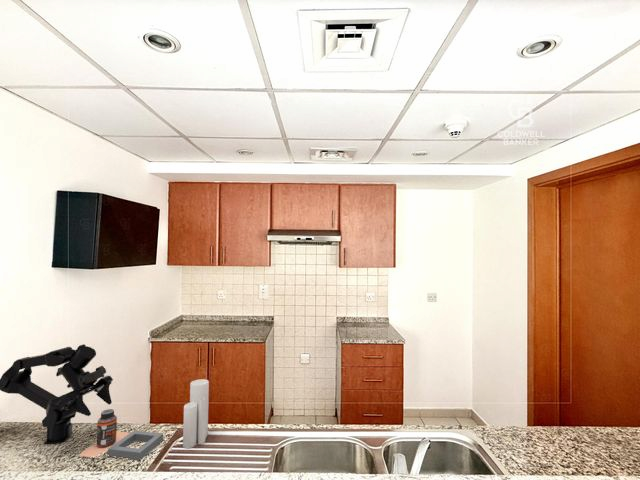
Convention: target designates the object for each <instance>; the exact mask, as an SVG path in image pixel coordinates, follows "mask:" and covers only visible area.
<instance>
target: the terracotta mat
mask: <svg viewBox="0 0 640 480" xmlns="http://www.w3.org/2000/svg"><path fill="white" fill-rule="evenodd" d="M130 433H131V432H127V431H125V432H123V431H118V430H116V441H115V442H114V443H113V444H112V445H110V446H107V447H98V446H97V442H96V443H94V444H93V445H91V446H90V447H88V448H87V449H85V450H84V451H82V452H81V453H80V454H78V455H77V457H78V456H85V457H93V456H94V457H95V458H96V456H97V457H98V455H99V454H100V453H102V452H105V453H106V452H107V451H108V449H109V448H110V447H111V446H113V445H114V444H116V443H117V442H118V441H120V440H121V439H123V438H124V437H125V436H127V435H128V434H130ZM106 454H107V453H106Z"/></svg>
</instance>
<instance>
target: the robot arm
mask: <svg viewBox="0 0 640 480" xmlns="http://www.w3.org/2000/svg"><path fill="white" fill-rule="evenodd" d="M96 355H97V351H96V350H95V348H93V347H92V346H88V345H87V346H86V344H80V345H78V346H77V347H76V349H73V348H72V347H71V346H65V347H63V348H58V349H55V350H52V351H49V352H47V353H43V354H40V355H35V356H34V355H33V356H27V357H21V358H18V359H16V360H14V362H13V363H12V364H11V366H10V367H9V368H8V369H7V370H6V371H4V373H3V374H2V375H1V377H0V391H1V392H3V393H6V394H14V395H15V394H16V395H17V394H18V395H20V396H22V397H23V398H25V399H27V400H29V401H30V402H32V403H34V404H35V405H38V407H40V408H42V409H44V410H45V414H46V415H45V417H44V418H43V419H42V420H41V423H42V427H44V428H46V429H47V430H46V440H45V441H44V442H43V444H44V445H50V444H57V443H64V442H66V441H67V440H68V438H69V437H70V436H72V434H73V423H71V422H72V419H74V418H75V417H76V414H77V413H78V414H82V415H84V416H87V417H90V416H91V415H92V413H91V411H90V408H88V406H87V405H86V403H85V402H84V396H85V395H87V394H89V393H91V392H95V394H96V396H97V397H98V398H100V399H101V400H102V401H103V402H105V403H106V404H107V405H111V404H112V398H111V397H112V396H111V394H110V386H111V385H112V382H113V381H114V379H113V377H112V376H111V375H105V374H106V373H107V369H106V368H105V367H104V366H103V365H100V366H98V367H96V368H95V371H92V372H90V371H89V370H87V371H85V370H84V368H86V367H87V366H88V365H89V364H90V362H91V361H93V359H94V358H95V357H96ZM60 365H62V366H61V367H58V366H60ZM39 366H40V367H41V366H47V367H58V368H57V372H56V374H55V375H56V377H59V376H61V375H62V377H63V378H64V379H65V381H66V382H67V383H68V384H67V385H66V387H67V388H68V389H70V388H71V389H72V390H71V391H69V392H67V393H65V394H62V395H60V396H56V395H55V394H53V393H51V392H50V391H48V390H46V389H44V388H43V387H41V386H40V385H38V384H36V383H34V382H33V381H32V379H31V378H32V377H31V375H32V374H33V371H32V368H34V367H35V368H36V367H39Z"/></svg>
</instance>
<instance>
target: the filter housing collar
mask: <svg viewBox="0 0 640 480" xmlns="http://www.w3.org/2000/svg"><path fill="white" fill-rule="evenodd" d="M129 433H130V434H128V435H127V436H125V437H124V438H123V439H121V440H120V441H118V442H117V443H116V444H114V445H113V446H111V447H110V448H109V449H108V453H107V456H108V455H109V456H116V457H123V458H122V459H124V458H128V459H127V460H132V459H133V461H141V460H142V459H143V458H144V457H146V456H147V455H148V454H149V453H150V452H151V451H153V450H155V448H156V447H157V446H159V444H161V443H162V442H163V441H164V433H162V432H161V433H160V432H153V431H141V430H132V431H131V432H129ZM133 441H134V442H145V443H144V444H142V446H141V447H139V448H136V447H130V445H131V444H132V443H133ZM130 443H131V444H130ZM129 444H130V445H129ZM126 446H127V447H126ZM128 446H129V447H128ZM116 457H115V458H116Z"/></svg>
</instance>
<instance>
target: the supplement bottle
mask: <svg viewBox="0 0 640 480" xmlns="http://www.w3.org/2000/svg"><path fill="white" fill-rule="evenodd" d="M117 419H118V416H117V415H115V409H112V408H111V409H110V408H108V409H105V410H102V411H101V413H100V418H98V419H97V422H96V423H97V425H96V443H97V446H98V447H107V446H110V445H112V444H113V443H114V442H115V441H116V431H117V425H118V424H117V423H118V420H117Z"/></svg>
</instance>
